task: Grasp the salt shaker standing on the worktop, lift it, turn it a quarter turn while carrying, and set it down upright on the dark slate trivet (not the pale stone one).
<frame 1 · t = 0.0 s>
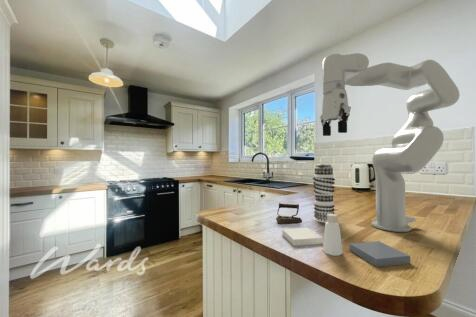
hand: (334, 134, 80), 37 cm above the worktop, tool pointing down, fingers open, 9 cm apart
clothes iron: (289, 222, 93), on the worktop
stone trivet: (301, 239, 73), on the worktop
salt shaker: (332, 252, 63), on the worktop
decorative candle: (324, 220, 95), on the worktop
slate trivet: (377, 256, 59), on the worktop
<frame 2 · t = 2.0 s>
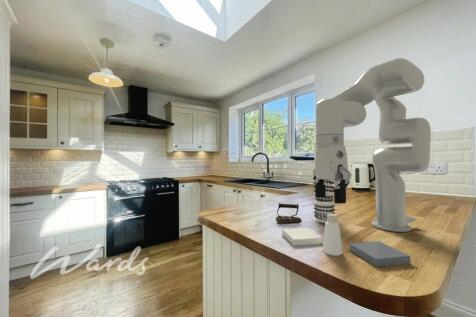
hand: (329, 200, 62), 15 cm above the worktop, tool pointing down, fingers open, 9 cm apart
nothing on the worktop moved.
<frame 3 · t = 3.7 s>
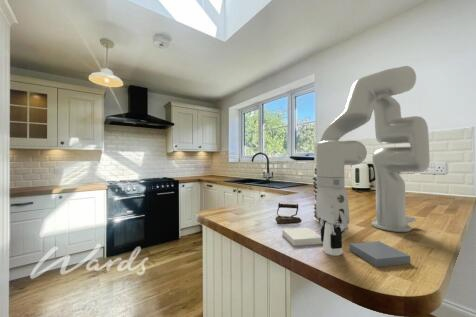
hand: (331, 243, 62), 2 cm above the worktop, tool pointing down, fingers closed on salt shaker, 4 cm apart
salt shaker: (332, 252, 63), on the worktop, touching gripper
everything else where it was.
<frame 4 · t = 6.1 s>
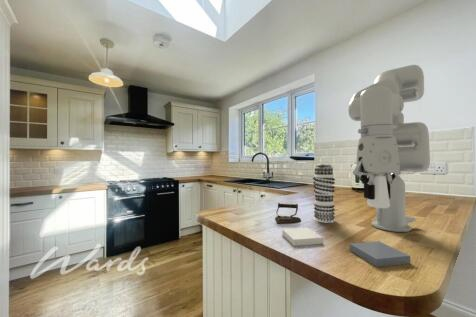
hand: (377, 197, 59), 17 cm above the worktop, tool pointing down, fingers closed on salt shaker, 4 cm apart
salt shaker: (378, 206, 59), point 14 cm above the worktop, touching gripper
everything else where it was.
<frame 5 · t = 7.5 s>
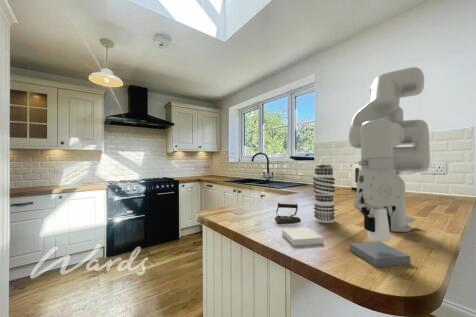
hand: (377, 229, 59), 8 cm above the worktop, tool pointing down, fingers closed on salt shaker, 4 cm apart
salt shaker: (378, 239, 59), point 5 cm above the worktop, touching gripper
everything else where it was.
when the fingers open (5 cm above the worktop, at t = 8.4 s): salt shaker stays where it is, resting on slate trivet.
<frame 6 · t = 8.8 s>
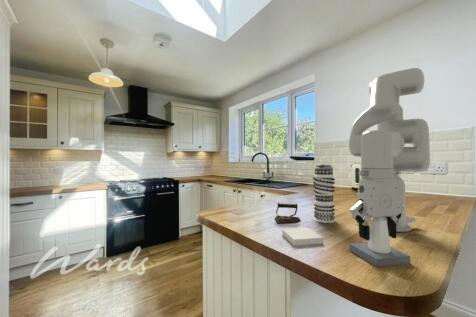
hand: (377, 237, 59), 5 cm above the worktop, tool pointing down, fingers open, 7 cm apart
salt shaker: (379, 250, 59), point 2 cm above the worktop, touching slate trivet
everything else where it was.
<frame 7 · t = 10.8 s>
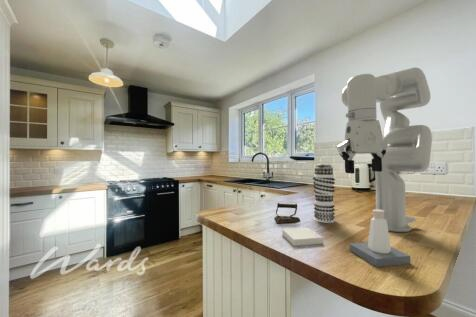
hand: (363, 172, 66), 23 cm above the worktop, tool pointing down, fingers open, 9 cm apart
nothing on the worktop moved.
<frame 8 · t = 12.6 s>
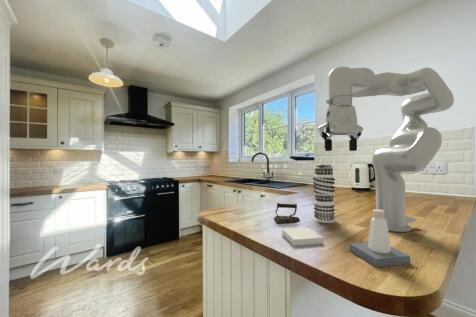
hand: (340, 150, 76), 30 cm above the worktop, tool pointing down, fingers open, 9 cm apart
nothing on the worktop moved.
at the end: salt shaker inside the target area on the slate trivet (0.4 cm from its centre), point 1.8 cm above the slate trivet's base; salt shaker tilted 0°; the gripper is holding nothing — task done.
